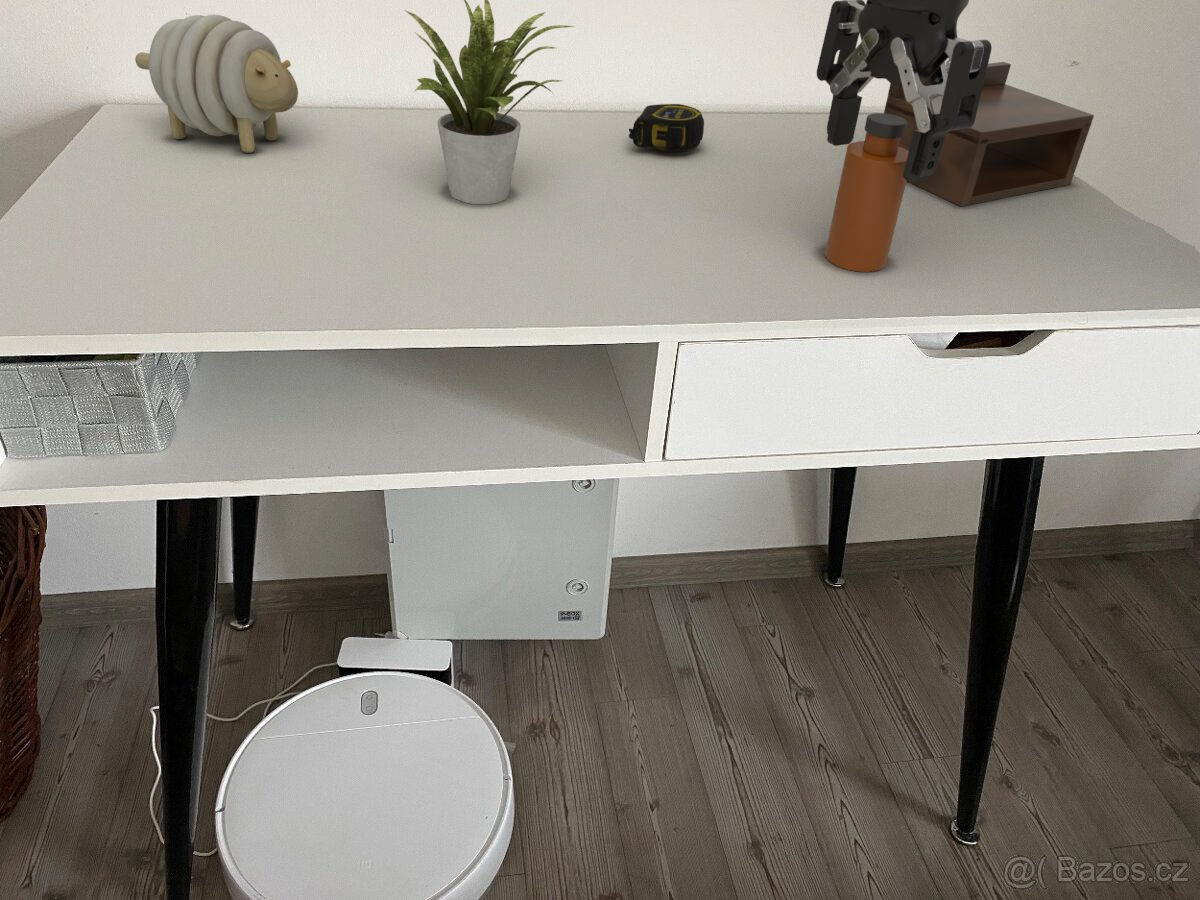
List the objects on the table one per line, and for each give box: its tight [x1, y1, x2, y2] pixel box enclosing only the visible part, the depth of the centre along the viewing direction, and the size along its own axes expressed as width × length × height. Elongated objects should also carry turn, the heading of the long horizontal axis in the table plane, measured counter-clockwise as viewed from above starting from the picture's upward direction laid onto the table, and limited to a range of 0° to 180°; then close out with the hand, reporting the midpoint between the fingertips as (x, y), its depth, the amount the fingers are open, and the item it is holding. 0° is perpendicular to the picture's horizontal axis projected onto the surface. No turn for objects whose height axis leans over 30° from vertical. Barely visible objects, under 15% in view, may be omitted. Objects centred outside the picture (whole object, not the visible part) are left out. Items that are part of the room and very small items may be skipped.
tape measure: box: [628, 103, 705, 152], centre depth 102 cm, size 7×7×4 cm
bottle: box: [824, 112, 909, 273], centre depth 80 cm, size 5×5×12 cm
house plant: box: [405, 0, 576, 205], centre depth 85 cm, size 14×14×16 cm
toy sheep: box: [134, 14, 299, 154], centre depth 94 cm, size 11×17×11 cm, turn 75°
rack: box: [883, 61, 1095, 207], centre depth 100 cm, size 12×16×9 cm
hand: (875, 160), depth 79 cm, fingers open, 8 cm apart
